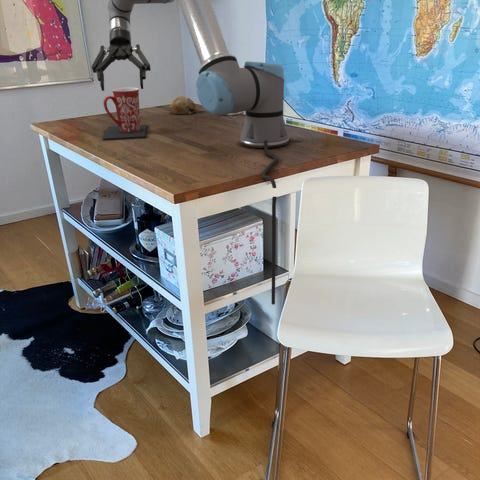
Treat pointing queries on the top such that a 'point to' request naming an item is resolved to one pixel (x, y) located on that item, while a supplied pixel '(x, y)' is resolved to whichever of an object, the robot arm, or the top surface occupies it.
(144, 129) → the mat
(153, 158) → the top surface
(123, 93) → the mug
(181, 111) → the bread roll
